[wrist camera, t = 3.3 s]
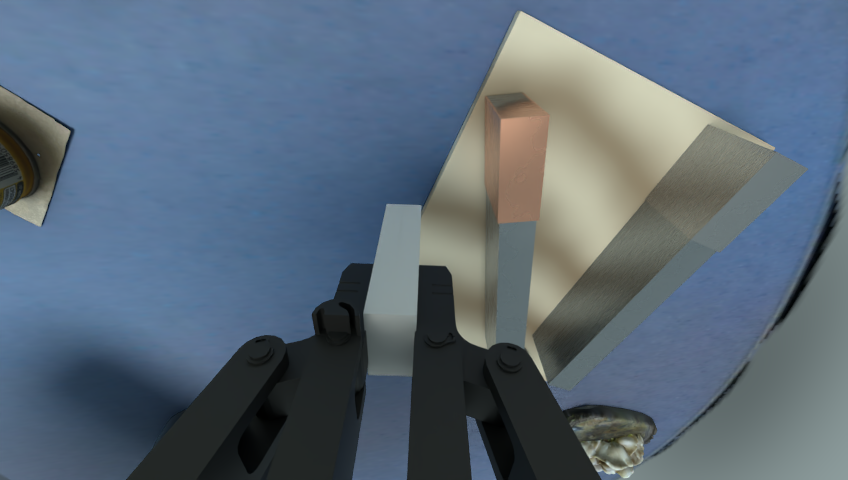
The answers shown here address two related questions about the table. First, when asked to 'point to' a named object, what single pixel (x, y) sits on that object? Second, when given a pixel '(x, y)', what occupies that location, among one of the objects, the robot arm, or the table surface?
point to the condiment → (28, 157)
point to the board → (558, 167)
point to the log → (612, 436)
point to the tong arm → (511, 210)
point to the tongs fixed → (661, 248)
